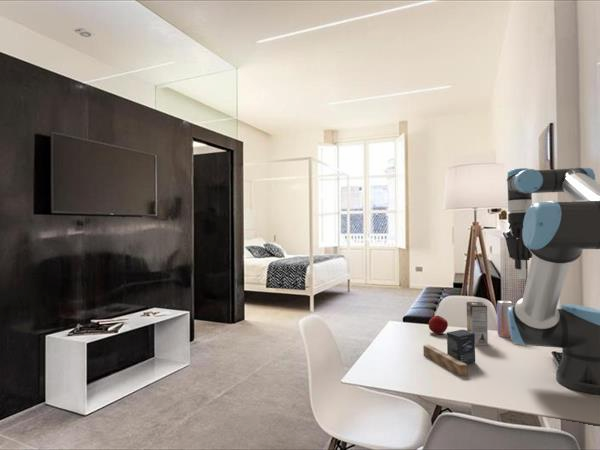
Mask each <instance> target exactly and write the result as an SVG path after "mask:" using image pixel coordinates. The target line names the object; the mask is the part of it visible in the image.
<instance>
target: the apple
mask: <svg viewBox="0 0 600 450" xmlns="http://www.w3.org/2000/svg"><path fill="white" fill-rule="evenodd" d="M448 326H449V325H448V320H446V319H445V318H444V317H442V316H441V315H434V316H432V317H431V318H430V319H429V321H428V329H429V330H430V331H431V332H432V333H434V334H437V335H440V334H441V335H442V334H443V333H444V332H446V330H447V329H448Z"/></svg>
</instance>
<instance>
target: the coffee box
mask: <svg viewBox="0 0 600 450" xmlns="http://www.w3.org/2000/svg"><path fill="white" fill-rule="evenodd" d="M466 330H467V331H471V332H473V333H475V346H488V345H489V344H488V343H489V341H488V340H489V339H488V336H489V335H488V334H489V333H488V305H486V304H485V303H484V302H483V301H466Z"/></svg>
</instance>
